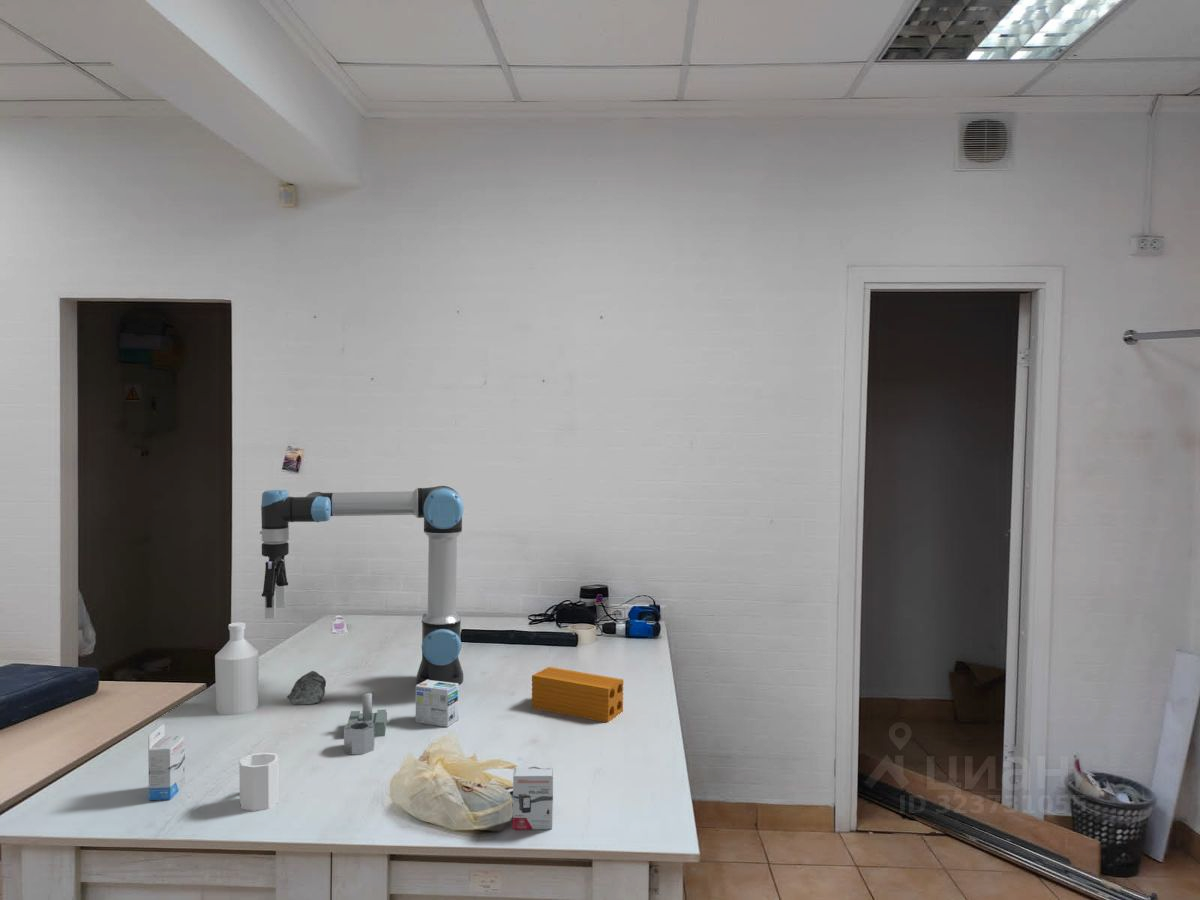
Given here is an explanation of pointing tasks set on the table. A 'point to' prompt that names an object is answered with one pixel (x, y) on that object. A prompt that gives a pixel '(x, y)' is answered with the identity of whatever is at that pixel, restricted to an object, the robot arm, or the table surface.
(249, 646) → the bottle
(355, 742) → the hub
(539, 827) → the ink box
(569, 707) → the brick
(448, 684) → the light bulb box
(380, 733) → the pillow block
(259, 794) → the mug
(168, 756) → the ink box
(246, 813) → the table surface
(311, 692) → the stone
